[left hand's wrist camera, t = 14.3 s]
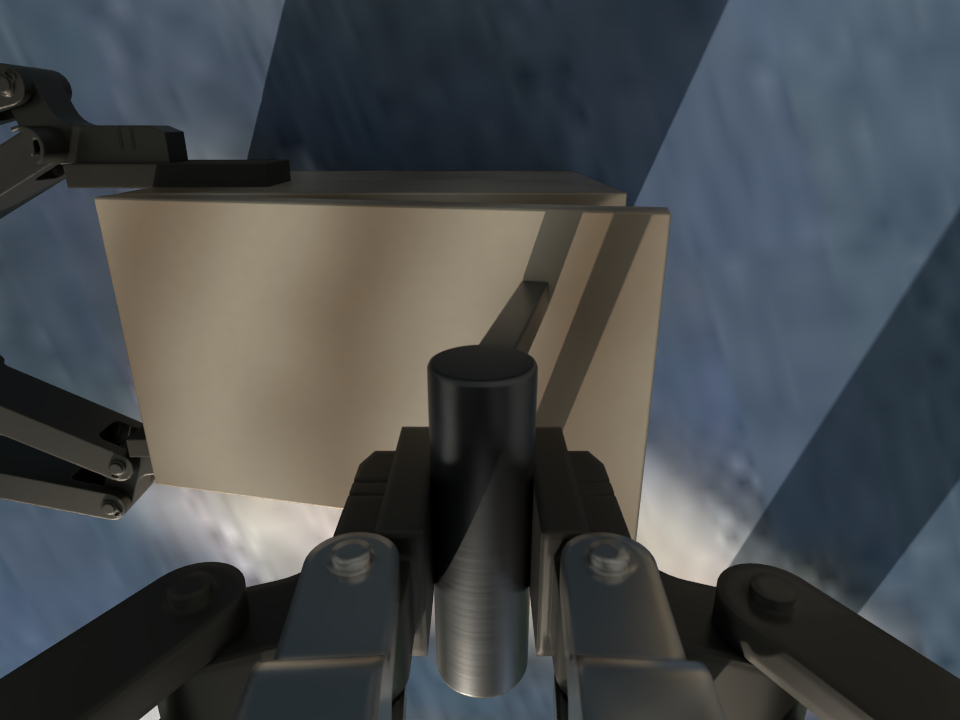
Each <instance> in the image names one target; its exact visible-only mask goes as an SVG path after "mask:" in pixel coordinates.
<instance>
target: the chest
mask: <svg viewBox="0 0 960 720" xmlns="http://www.w3.org/2000/svg"><path fill="white" fill-rule="evenodd" d="M290 176H291V181H288V182H284V183H281V184H277V185H274V186H270V187H152V188H146V189H141V190H135V191H130V192H124V193H120V194H148V195H188V196H229V197H269V198H309V199H349V200H390V201H430V202H470V203H510V204H551V205H591V206H626V200H627V193H625V192H623V191H620V190H618V189H615V188H613V187H611V186H608V185H606V184H603V183H601V182H598V181H596V180H594V179H591V178H589V177H586V176H584V175H581V174H579V173H577V172H573V171H290Z"/></svg>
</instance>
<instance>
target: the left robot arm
mask: <svg viewBox="0 0 960 720" xmlns="http://www.w3.org/2000/svg"><path fill="white" fill-rule="evenodd" d="M434 584H435V582H434V551H433V521H432V490H431V473H430V446H429V427H402V428H401V432H400V436H399V440H398V443H397V447H396V451H374V452H373V453H372V454H371V455H370V456H368V457H367V458H366V459H365V460H364V461H363V462H361V463H360V464H359V467H358V470H357V473H356V475H355V478H354V483H353V484H352V486H351V489H350V492H349V496H348V497H347V500H346V503H345V506H344V508H343V511H342V514H341V517H340V519H339V522H338V525H337V528H336V530H335V533H334V536H333V537H332V538H330V539H327V540H325V541H324V542H322V543H320V544H319V545H318V546H316V547H315V548H314V549H313V550H312V551H311V552H310V553H309V554H308V556H307V557H306V559H305V561H304V564H303V567H302V570H301V572H300V573H298V574H296V575H293V576H291V577H288V578H285V579H281V580H277V581H273V582H268V583H264V584H259V585H255V586H251V587H246V584H245V578H244V576H243V574H242V573H241V571H240V570H239V569H237V568H236V567H234V566H232V565H229V564H226V563H221V562H203V563H196V564H192V565H188V566H184V567H182V568H179V569H176V570H174V571H172V572H170V573H167V574H166V575H164V576H162V577H160V578H159V579H157V580H156V581H154V582H152V583H151V584H149V585H148V586H146V587H145V588H143V589H141V590H140V591H138V592H137V593H135V594H134V595H132V596H130V597H129V598H127V599H126V600H124V601H122V602H121V603H119V604H118V605H116V606H115V607H113V608H111V609H110V610H108V611H107V612H105V613H104V614H102V615H100V616H99V617H97V618H96V619H94V620H93V621H91V622H89V623H88V624H86V625H85V626H83V627H81V628H80V629H78V630H77V631H75V632H74V633H72V634H70V635H69V636H67V637H66V638H64V639H63V640H61V641H59V642H58V643H56V644H55V645H53V646H52V647H50V648H48V649H47V650H45V651H44V652H42V653H40V654H39V655H37V656H36V657H34V658H33V659H31V660H29V661H28V662H26V663H25V664H23V665H22V666H20V667H18V668H17V669H15V670H14V671H12V672H11V673H9V674H7V675H6V676H4V677H3V678H1V679H0V720H139V719H140V718H142V717H143V716H144V715H145V714H147V713H148V712H149V711H150V710H152V709H153V708H154V707H155V706H156V705H158V709H159V713H160V717H161V718H160V719H159V720H406V705H407V692H406V684H407V681H408V678H409V674H410V666H411V658H412V656H427V655H428V645H429V635H430V625H431V615H432V604H433V594H434ZM529 590H530V599H531V609H532V618H533V627H534V637H535V646H536V655H537V656H552V657H553V664H554V672H555V673H554V692H553V705H554V720H804V718H805V714H806V710H807V709H809V710H810V711H811V712H812V713H813V714H815V715H816V716H817V717H818V718H820V719H821V720H960V679H959V678H957V677H956V676H954V675H953V674H951V673H950V672H948V671H946V670H945V669H943V668H942V667H940V666H938V665H937V664H935V663H934V662H932V661H931V660H929V659H927V658H926V657H924V656H923V655H921V654H920V653H918V652H916V651H915V650H913V649H912V648H910V647H908V646H907V645H905V644H904V643H902V642H901V641H899V640H897V639H896V638H894V637H893V636H891V635H890V634H888V633H886V632H885V631H883V630H882V629H880V628H879V627H877V626H875V625H874V624H872V623H871V622H869V621H867V620H866V619H864V618H863V617H861V616H860V615H858V614H856V613H855V612H853V611H852V610H850V609H849V608H847V607H845V606H844V605H842V604H841V603H839V602H838V601H836V600H834V599H833V598H831V597H830V596H828V595H826V594H825V593H823V592H822V591H820V590H819V589H817V588H815V587H814V586H812V585H811V584H809V583H808V582H806V581H804V580H803V579H801V578H799V577H798V576H796V575H794V574H792V573H790V572H787V571H785V570H782V569H779V568H776V567H772V566H768V565H763V564H752V563H748V564H739V565H734V566H732V567H729V568H727V569H726V570H724V571H723V572H722V573H721V574H720V576H719V578H718V581H717V587H713V586H709V585H704V584H700V583H695V582H691V581H687V580H683V579H679V578H676V577H673V576H671V575H668V574H666V573H664V572H662V571H660V570H658V567H657V564H656V561H655V559H654V557H653V556H652V554H651V553H650V552H649V551H648V550H647V549H646V548H645V547H644V546H642V545H641V544H640V543H638V542H636V541H635V540H633V539H631V536H630V533H629V531H628V528H627V525H626V522H625V520H624V517H623V514H622V512H621V509H620V506H619V504H618V501H617V498H616V496H614V490H613V488H612V485H611V483H610V480H609V477H608V474H607V472H606V469H605V466H604V464H603V463H602V462H601V461H599V460H598V459H597V458H596V457H595V456H594V455H592V454H591V453H590V452H589V451H568V449H567V446H566V442H565V439H564V435H563V431H562V428H561V427H536V439H535V467H534V475H533V489H532V518H531V546H530V575H529Z"/></svg>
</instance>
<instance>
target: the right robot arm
mask: <svg viewBox="0 0 960 720" xmlns="http://www.w3.org/2000/svg"><path fill="white" fill-rule="evenodd" d="M71 96H72V90H71V86H70V84H69V82H68V81H67V79H66V78H65V77H64V76H63V75H62V74H60V73H59V72H56V71H53V70H47V69H39V68H32V67H25V66H18V65H10V64H3V63H0V125H2V124H5V123H9V122H12V121H17V122H18V124H19V126H14V127H11V129H12V131H21V132H20V133H18V134H17V135H15V136H14V137H12V138H11V139H9V140H8V141H6V142H4V143H3V144H1V145H0V219H1V218H2V217H4V216H6V215H7V214H9V213H10V212H12V211H14V210H15V209H17V208H18V207H20V206H22V205H23V204H25V203H26V202H28V201H30V200H31V199H33V198H35V197H36V196H38V195H39V194H41V193H43V192H44V191H46V190H47V189H49V188H51V187H52V186H54V185H55V184H57V183H59V182H60V181H62V180H64V179H65V178H66V181H67V186H68V188H152V187H270V186H274V185H277V184H281V183H284V182H288V181H291V176H290V166H289V160H188V157H187V150H186V144H185V138H184V132H183V131H180V130H178V129H175V128H173V127H170V126H99V125H94V124H91V123H89V122H87V121H86V120H84V119H83V118H82V117H81V116H80V115H79V114H78V112H77V111H76V109H75V108H74V106H73V104H72V102H71ZM0 434H1V435H0V499H5V500H11V501H16V502H21V503H26V504H31V505H37V506H42V507H47V508H52V509H57V510H63V511H68V512H73V513H78V514H83V515H89V516H94V517H99V518H104V519H109V520H116V519H119V518H121V517H122V516H123V515H124V514H125V513H126V512H127V511H128V510H129V509H130V508H131V507H132V506H133V504H134V503H135V502H136V501H137V500H138V499H139V498H140V497H141V496H142V494H143V493H144V492H145V491H146V490H147V489H148V488H149V487H150V486H151V485H152V483H153V482H154V479H155V477H154V473H153V468H152V463H151V459H150V454H149V450H148V445H147V440H146V436H145V431H144V426H143V423H141V422H139V421H136V420H134V419H132V418H129V417H127V416H125V415H122V414H120V413H118V412H115V411H113V410H110V409H108V408H106V407H103V406H101V405H99V404H96V403H94V402H91V401H89V400H87V399H84V398H82V397H80V396H77V395H75V394H72V393H70V392H68V391H65V390H63V389H61V388H58V387H56V386H53V385H51V384H49V383H46V382H44V381H42V380H39V379H37V378H34V377H32V376H30V375H27V374H25V373H23V372H20V371H18V370H15V369H13V368H11V367H8V366H7V365H5V364H4V358H3V357H2V356H0ZM2 435H4V436H2Z"/></svg>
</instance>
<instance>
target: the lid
mask: <svg viewBox="0 0 960 720" xmlns="http://www.w3.org/2000/svg"><path fill="white" fill-rule="evenodd" d="M95 204H96V209H97V214H98V218H99V223H100V227H101V232H102V237H103V241H104V246H105V251H106V255H107V260H108V264H109V269H110V274H111V278H112V283H113V288H114V292H115V297H116V301H117V306H118V311H119V315H120V320H121V325H122V329H123V334H124V338H125V343H126V348H127V352H128V357H129V362H130V366H131V371H132V376H133V380H134V385H135V389H136V394H137V399H138V403H139V408H140V413H141V417H142V422H143V426H144V431H145V436H146V440H147V445H148V450H149V454H150V459H151V463H152V468H153V473H154V477H155V482H156V484H160V485H168V486H175V487H182V488H190V489H197V490H204V491H212V492H219V493H227V494H234V495H241V496H249V497H256V498H264V499H271V500H278V501H286V502H293V503H301V504H308V505H315V506H323V507H330V508H337V509H343V508H344V506H345V503H346V500H347V497H348V496H349V492H350V489H351V486H352V484H353V483H354V478H355V475H356V473H357V470H358V467H359V464H360V463H361V462H363V461H364V460H365V459H366V458H367V457H368V456H370V455H371V454H372V453H373V452H374V451H396V447H397V443H398V440H399V436H400V432H401V428H402V427H429V446H430V473H431V490H432V521H433V551H434V582H435V584H434V598H435V628H436V659H437V667H438V670H439V673H440V675H441V677H442V678H443V680H444V681H445V682H446V683H447V684H448V685H449V686H450V687H451V688H452V689H453V690H455V691H457V692H458V693H460V694H463V695H465V696H469V697H473V698H491V697H496V696H499V695H502V694H504V693H506V692H508V691H509V690H511V689H512V688H513V687H515V686H516V685H517V684H518V682H519V681H520V680H521V678H522V677H523V675H524V673H525V671H526V668H527V661H528V634H529V606H530V590H529V575H530V546H531V518H532V489H533V475H534V467H535V439H536V427H561V428H562V431H563V435H564V439H565V442H566V446H567V449H568V451H589V452H590V453H591V454H592V455H594V456H595V457H596V458H597V459H598V460H599V461H601V462H602V463H603V464H604V466H605V469H606V472H607V474H608V477H609V480H610V483H611V485H612V488H613V490H614V496H616V498H617V501H618V504H619V506H620V509H621V512H622V514H623V517H624V520H625V522H626V525H627V528H628V531H629V533H630V536H631V539H633V540H635V541H636V536H637V527H638V518H639V509H640V499H641V490H642V481H643V472H644V462H645V453H646V444H647V435H648V425H649V416H650V407H651V398H652V388H653V379H654V370H655V361H656V351H657V342H658V333H659V324H660V314H661V305H662V296H663V287H664V277H665V268H666V259H667V250H668V240H669V231H670V222H671V213H670V211H669V209H668V208H666V207H631V206H591V205H551V204H510V203H470V202H430V201H390V200H349V199H309V198H269V197H229V196H188V195H148V194H115V195H108V196H100V197H96V198H95Z"/></svg>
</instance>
